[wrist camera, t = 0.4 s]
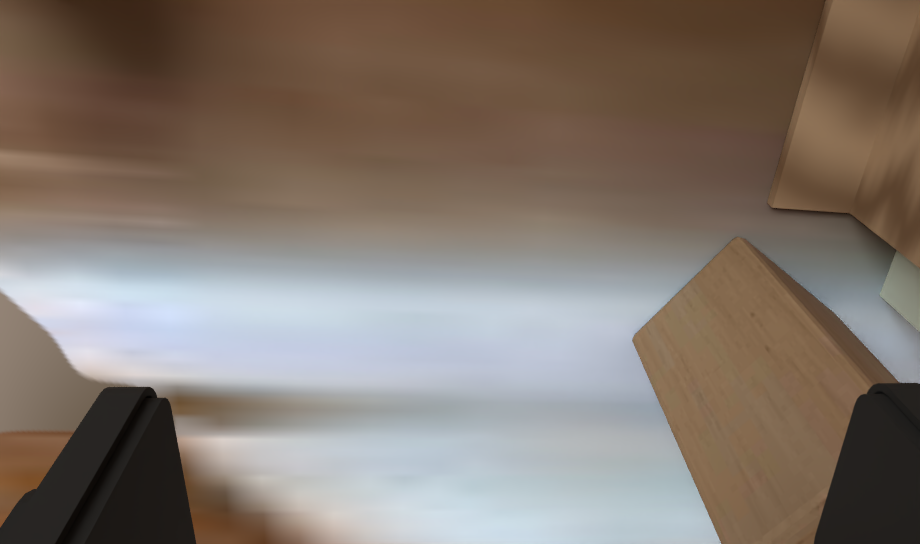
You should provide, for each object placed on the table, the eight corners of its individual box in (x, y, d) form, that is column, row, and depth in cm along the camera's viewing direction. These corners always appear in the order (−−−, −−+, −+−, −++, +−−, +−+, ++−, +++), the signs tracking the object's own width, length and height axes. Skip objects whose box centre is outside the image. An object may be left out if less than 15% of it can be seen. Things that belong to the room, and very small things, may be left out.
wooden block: (835, 313, 52) (1047, 539, 34) (726, 408, 55) (867, 659, 37) (736, 231, 49) (912, 432, 31) (627, 337, 52) (729, 573, 34)
